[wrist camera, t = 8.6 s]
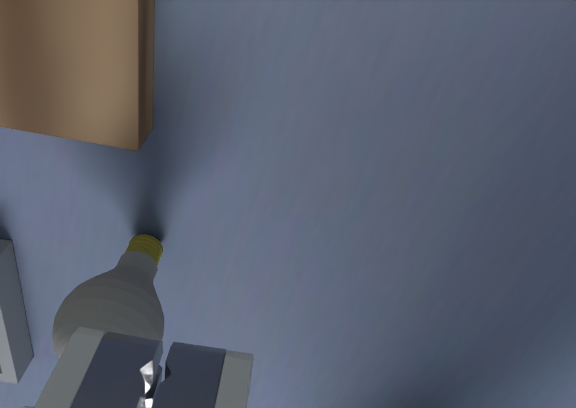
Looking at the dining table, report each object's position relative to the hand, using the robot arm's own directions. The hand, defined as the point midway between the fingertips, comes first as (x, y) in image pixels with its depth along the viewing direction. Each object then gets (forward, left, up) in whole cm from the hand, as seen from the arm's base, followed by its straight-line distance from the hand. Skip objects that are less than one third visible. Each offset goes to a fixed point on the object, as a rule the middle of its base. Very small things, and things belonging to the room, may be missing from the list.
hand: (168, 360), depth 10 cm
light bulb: (+6, +14, -19) cm, 24 cm away
